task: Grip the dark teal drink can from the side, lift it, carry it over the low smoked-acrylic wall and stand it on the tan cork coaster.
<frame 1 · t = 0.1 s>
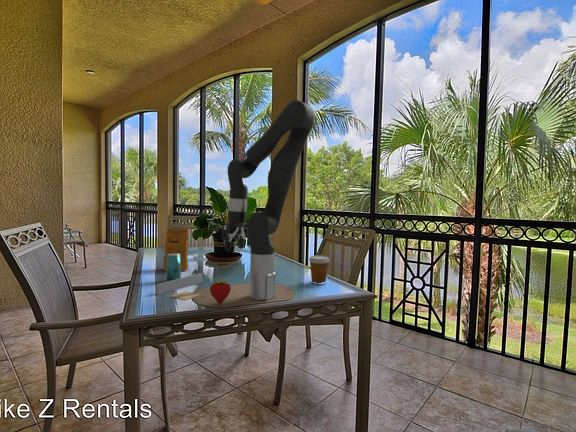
hand: (234, 249, 132), 17 cm above the table, tool pointing down, fingers open, 8 cm apart
coffee package: (176, 270, 170), on the table
can: (173, 281, 147), on the table
acrylic wall: (181, 287, 137), on the table
glass of beer: (318, 283, 151), on the table
strawberry: (220, 304, 118), on the table
coaster: (185, 295, 126), on the table
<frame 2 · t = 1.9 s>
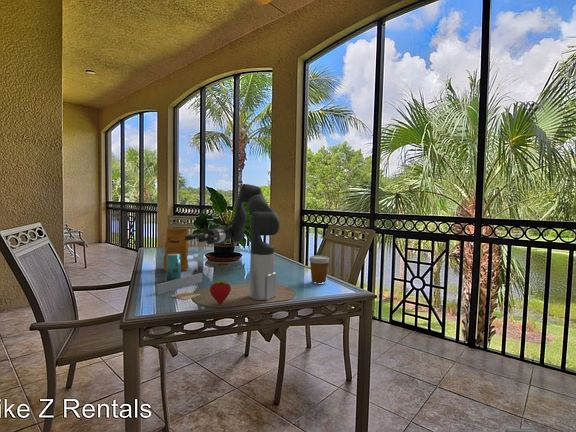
hand: (192, 239, 156), 18 cm above the table, tool horizontal, fingers open, 8 cm apart
nothing on the table moved.
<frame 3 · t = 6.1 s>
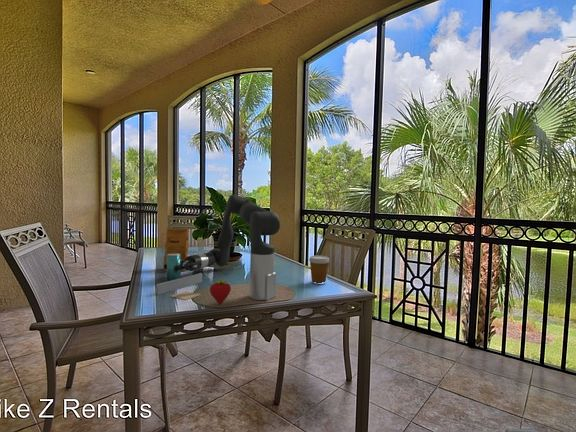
hand: (169, 267, 145), 7 cm above the table, tool horizontal, fingers closed on can, 6 cm apart
can: (173, 281, 147), on the table, touching gripper
everything else where it was.
when the fingers open (7 cm above the table, at t = 11.8 s): can stays where it is, resting on coaster.
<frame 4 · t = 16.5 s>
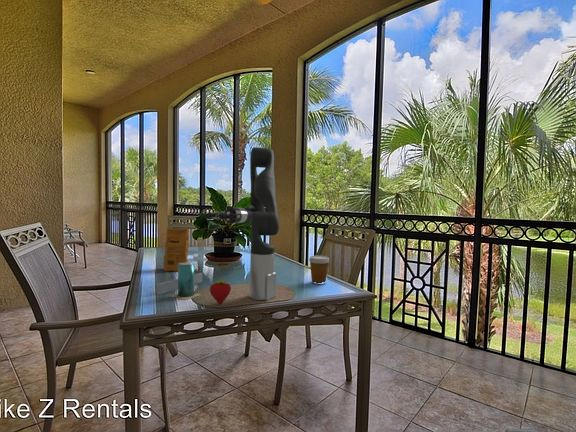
hand: (212, 216, 142), 30 cm above the table, tool horizontal, fingers open, 8 cm apart
can: (186, 294, 126), resting on coaster
everything else where it was.
at the end: can inside the target area on the coaster (0.1 cm from its centre), point 0.4 cm above the coaster's base; can tilted 1°; the gripper is holding nothing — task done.
